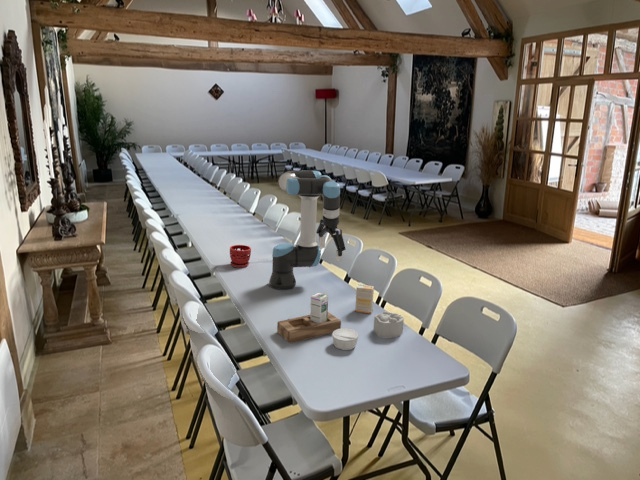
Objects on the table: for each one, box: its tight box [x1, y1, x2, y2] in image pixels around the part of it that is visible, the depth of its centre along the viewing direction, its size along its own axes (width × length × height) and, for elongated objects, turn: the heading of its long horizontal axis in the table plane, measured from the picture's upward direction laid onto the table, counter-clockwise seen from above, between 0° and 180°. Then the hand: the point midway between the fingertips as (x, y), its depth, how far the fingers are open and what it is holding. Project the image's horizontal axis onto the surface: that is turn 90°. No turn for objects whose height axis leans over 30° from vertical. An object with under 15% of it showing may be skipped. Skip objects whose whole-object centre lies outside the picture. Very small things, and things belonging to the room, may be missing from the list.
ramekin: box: [331, 327, 359, 351], centre depth 201 cm, size 11×11×5 cm
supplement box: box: [355, 284, 375, 315], centre depth 235 cm, size 8×5×13 cm, turn 74°
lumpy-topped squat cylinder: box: [372, 310, 405, 339], centre depth 214 cm, size 10×13×9 cm
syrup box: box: [309, 292, 329, 324], centre depth 213 cm, size 6×6×14 cm
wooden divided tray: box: [276, 311, 342, 344], centre depth 212 cm, size 12×26×5 cm, turn 122°
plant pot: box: [229, 244, 252, 269], centre depth 296 cm, size 13×13×12 cm
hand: (330, 254), depth 225 cm, fingers open, 13 cm apart
